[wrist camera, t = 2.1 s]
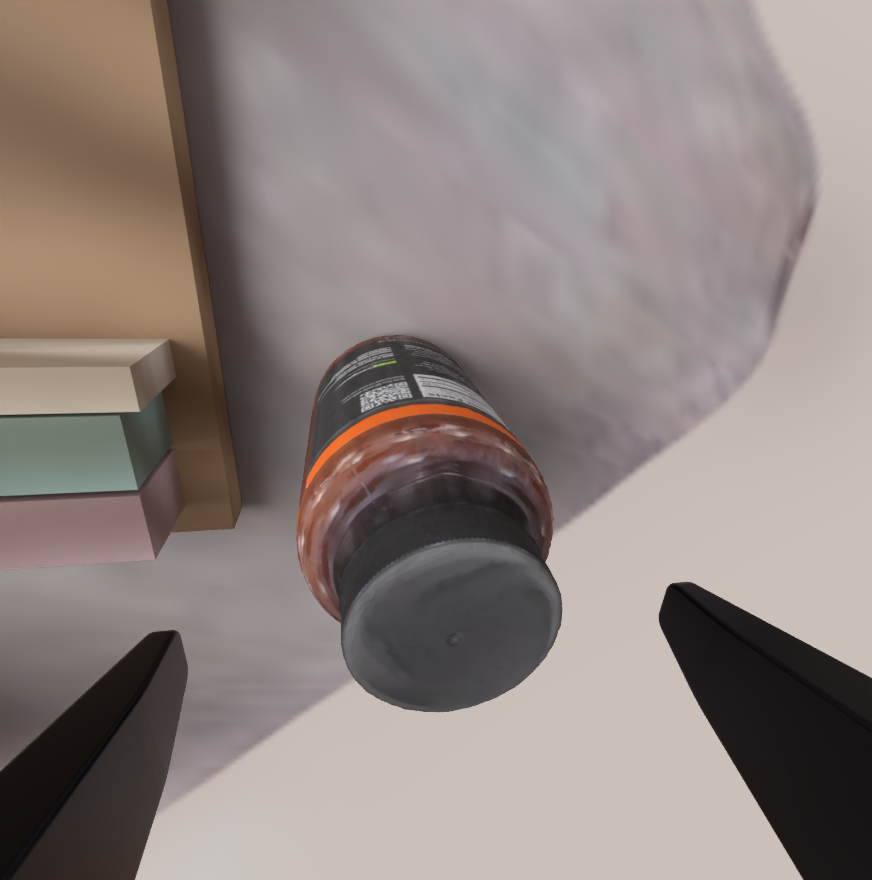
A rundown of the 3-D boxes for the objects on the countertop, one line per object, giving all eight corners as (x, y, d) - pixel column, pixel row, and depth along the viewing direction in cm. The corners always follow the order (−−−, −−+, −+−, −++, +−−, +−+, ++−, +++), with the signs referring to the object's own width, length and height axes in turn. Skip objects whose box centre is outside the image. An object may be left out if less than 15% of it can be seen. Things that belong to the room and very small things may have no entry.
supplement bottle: (397, 501, 20) (449, 789, 10) (280, 415, 18) (194, 677, 8) (500, 401, 19) (674, 613, 9) (390, 294, 17) (459, 417, 7)
